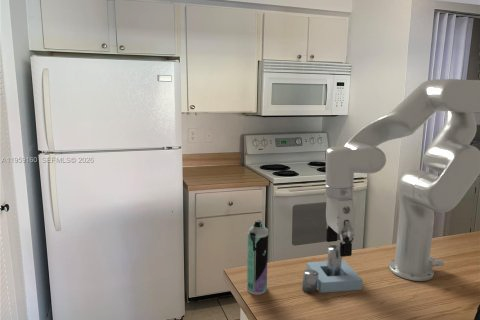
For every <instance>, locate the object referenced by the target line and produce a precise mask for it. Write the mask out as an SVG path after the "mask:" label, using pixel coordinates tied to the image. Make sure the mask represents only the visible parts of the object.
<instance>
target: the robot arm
mask: <svg viewBox="0 0 480 320" xmlns="http://www.w3.org/2000/svg"><path fill="white" fill-rule="evenodd" d="M437 112H446V119H445V122H444V125H443V126H442V128H441V129H440V130H439V132H438V133H437V135H436V136H435V137H434V138H433V139H434V140H432V142H431V143H430V144H429V146H428V148H426V150H425V152H424V154H423V157H422V158H423V160H422V161H423V164H424V165H425V167H426V168H428V169H429V170H431V171H433V172H435V173H440V175H437V174H435V173H432V172H429V171H426V170H422V169H411V170H408V171H406V172H404V173H403V174H402V175H401V176H400V179H399V181H398V187H397V188H398V191H397V192H398V198H399V200H398V201H399V214H398V224H397V232H396V233H397V234H396V243H395V245H396V246H395V251H394V252H395V253H394V259H392V260H390V261H389V262H388V269H389V271H390V272H391V273H393V274H395V276H397V277H399V278H403V279H406V280H408V281H409V280H410V281H413V282H414V281H415V282H425V281H430V280H432V279H433V278H434V274H435V273H434V269H433V268H435V267H442V266H444V263H445V262H444V260H443V259H441V258H440V259H434V257H433V256H431V250H432V242H433V234H434V226H435V225H434V224H435V213H434V212H437V213H447V212H448V213H449V212H450V211H452V210H453V209H454V208H455V207H457V206H458V204H459V203H460V202H461V200H462V199H463V198H464V196H466V194H467V193H468V191H469V190H470V188H471V187H472V185H473V184H474V183H475V181H476V180H477V179H478V177H479V175H480V149H479V148H477V147H476V146H474V145H470V144H471V142H472V141H473V140H474V139H475V137H476V133H477V130H478V129H477V127H478V126H477V121H476V117H475V114H476V113H478V114H479V113H480V80H478V79H461V78H460V79H459V78H444V79H443V78H442V79H441V78H440V79H435V78H434V79H429V80H426V81H425V80H424V81H423V82H422V83H420V84H419V85H418V86H417V87H416V88H415V89H414V90H413V91H412V92H410V94H409V95H407V97H405V98H404V99H403V100H402V101H401V102H400V103H399V104H397V106H396V107H395V108H393V110H392V111H390V112H389V113H387V114H385V115H383V116H381V117H379V118H377V119H376V120H374V121H372V122H371V123H369V124H367V125H365V126H364V127H362V128H361V129H360V130H358V131H357V132H356V133H355V134H354V135H353V136H351V138H350V139H348V141H347V142H346V143H345V144H344V145H343V146H339V145H337V146H331V147H328V148H327V149H326V151H325V197H326V202H325V203H326V205H325V221H326V224H325V226H326V227H325V228H326V237H325V238H326V242H327V243H333V242H337V241H338V235H339V239H340V242H339V246H340V256H341V257H342V258H344V257H351V256H352V255H353V254H352V253H353V252H352V250H353V241H354V237H355V232H356V219H355V217H356V216H355V215H356V214H355V205H354V204H355V203H354V199H353V198H354V181H355V179H354V177H355V174H367V175H368V174H371V175H372V174H376V173H378V172H380V171H382V169H383V168H385V166H386V163H387V157H386V154H385V152H384V151H383V150H382V149H380V148H379V147H377V146H379V145H382V144H383V143H386V142H388V141H391V140H397V139H401V138H405V137H408V136H411V135H413V134H415V133H416V132H417V131H418V130H419V129H420V128H421V127H422V126H423V125H424V124H425V123H426V122H427V121H429V119H431V117H433V116H434V115H435V114H436V113H437ZM344 235H347V236H344Z"/></svg>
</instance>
